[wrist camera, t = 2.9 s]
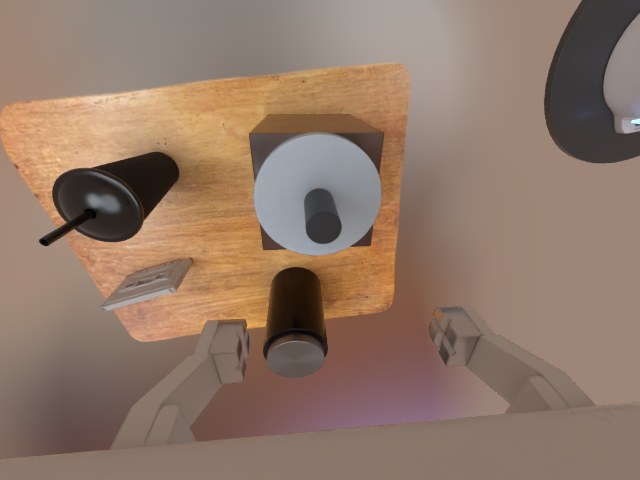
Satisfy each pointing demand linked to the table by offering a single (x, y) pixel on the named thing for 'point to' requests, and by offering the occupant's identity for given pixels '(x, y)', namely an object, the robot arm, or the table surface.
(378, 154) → the riser
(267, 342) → the thermos
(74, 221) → the drinking cup
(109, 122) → the table surface
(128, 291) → the cassette
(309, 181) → the lid
